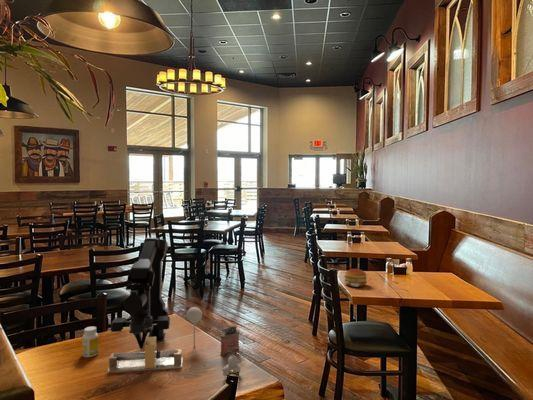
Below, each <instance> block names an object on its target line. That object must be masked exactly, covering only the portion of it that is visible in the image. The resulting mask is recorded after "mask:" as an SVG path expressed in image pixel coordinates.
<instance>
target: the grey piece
mask: <svg viewBox="0 0 533 400" xmlns="http://www.w3.org/2000/svg"><path fill="white" fill-rule="evenodd" d="M182 350H183V349H182V348H178V349H169V350H156V351H155V359H156V362H155V367H154V368H145V351H135V352H134V351H133V352H113V353H111V354H110V355H109V358H108V365H109V366H108V369H107V374H111V373H112V374H113V373H126V372H127V373H128V372H143V371H144V372H145V371H157V370H160V371H161V370H169V369H170V370H172V369H182V368H183V361H184V359H183V357H182V352H183V351H182Z"/></svg>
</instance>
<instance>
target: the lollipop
mask: <svg viewBox="0 0 533 400" xmlns="http://www.w3.org/2000/svg"><path fill="white" fill-rule="evenodd" d="M185 317H186V319H187V321H188V322H190V323H192V324H193V347H195V346H196V323H199V322H200V321H201V320H202V317H203V312H202V310H201V309H200V307H197V306H192V307H190V308H189V309H188V310H187V311H186V314H185Z"/></svg>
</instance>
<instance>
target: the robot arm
mask: <svg viewBox="0 0 533 400" xmlns="http://www.w3.org/2000/svg"><path fill="white" fill-rule="evenodd" d="M168 245H169V244H168V242H167V240H165V239H164V238H163V239H161V238H158V237H146V238H145V239H144V240H143V247H142V249H141V254H139V258H138V261H137V260H136V262H134V263H133V264H132V266H131V268H130V269H129V271H128V274H127V280H126V286H125V290H126V291H129V290H130V292H129V293H130V294H129V295H128V296H127V297H126V298H125V300H124V302H123V307H124V309H125V310H126V312H128V313H130V314H131V316H130V320H127V318H126V317H115V318H114V319H113V320H112V322H111V325H110V332H111V333H114V332H115V333H117V332H118V333H119V332H122V330H124V328H129V331H128V332H129V334H133V335H134V337H135V339H136V341H137V344H138V347H139V349H140V350H142V349H143V348H144V346H145V343H146V340H147V337H156V342H157V341H165V338H166V332H164V331H165V330H169V329H170V325H171V317H170V316H169V313H168V310H167V308H166V302H164V299H162V276H163V275H162V274H163V273H162V271H163V270H162V269H163V266H162V265H163V264H162V263H163V260H164V258H165V257H166V255H167V251H168Z"/></svg>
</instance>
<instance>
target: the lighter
mask: <svg viewBox="0 0 533 400" xmlns="http://www.w3.org/2000/svg"><path fill="white" fill-rule="evenodd" d="M237 327H238V326H237V324H236V325H235V324H234V325H231V324H230V325H228V327H223V328H222V329H221V330H222V333H221V334H220V352H219V353H220V357H223V358H225V357H230V355H231V354H232V355H233V353H234V355H235V354H236V353H238V352H240V347H239V345H240V343H239V341H240V335H239V334H240V330H239V329H237Z"/></svg>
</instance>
